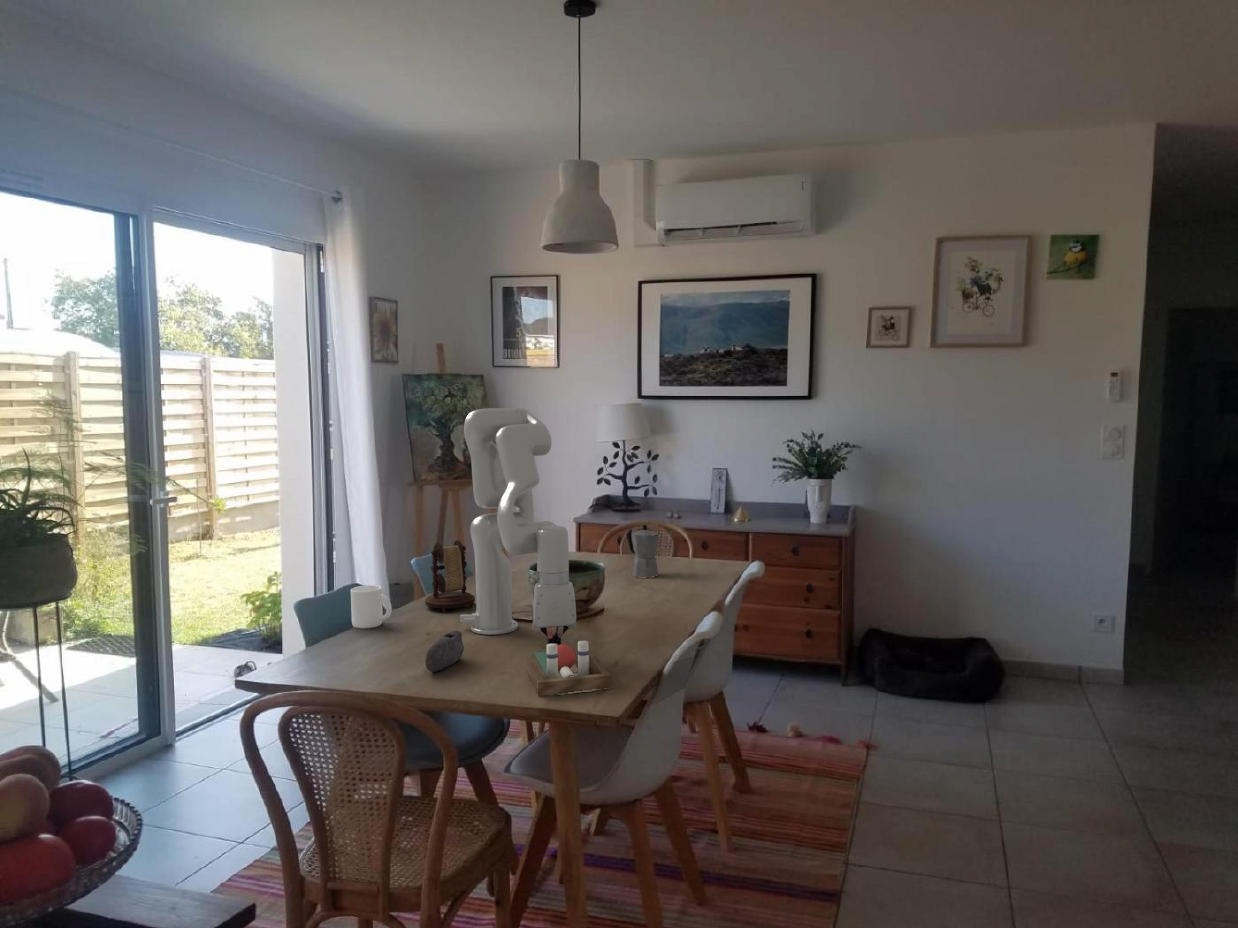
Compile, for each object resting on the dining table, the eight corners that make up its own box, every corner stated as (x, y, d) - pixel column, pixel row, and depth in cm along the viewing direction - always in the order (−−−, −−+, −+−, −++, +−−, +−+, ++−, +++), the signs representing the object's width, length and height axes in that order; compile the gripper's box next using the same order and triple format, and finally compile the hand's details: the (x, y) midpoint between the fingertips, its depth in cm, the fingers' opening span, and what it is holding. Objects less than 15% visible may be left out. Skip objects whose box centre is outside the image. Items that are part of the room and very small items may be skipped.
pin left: (547, 684, 182) (546, 646, 181) (547, 680, 184) (546, 643, 184) (558, 684, 182) (557, 646, 181) (558, 680, 185) (557, 643, 184)
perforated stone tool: (436, 677, 188) (435, 647, 187) (416, 675, 189) (415, 645, 189) (469, 657, 202) (469, 629, 201) (450, 655, 203) (450, 628, 203)
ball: (547, 641, 191) (544, 660, 194) (556, 658, 186) (553, 678, 189) (571, 636, 193) (568, 656, 196) (581, 654, 189) (577, 673, 192)
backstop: (538, 696, 175) (537, 682, 175) (527, 675, 188) (527, 662, 188) (611, 688, 179) (611, 675, 179) (596, 668, 192) (596, 655, 192)
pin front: (559, 676, 187) (568, 689, 178) (560, 666, 186) (569, 678, 178) (570, 676, 187) (579, 689, 179) (571, 666, 187) (580, 678, 179)
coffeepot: (668, 576, 289) (668, 525, 287) (649, 580, 282) (649, 528, 281) (636, 570, 300) (636, 520, 298) (618, 574, 293) (617, 523, 292)
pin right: (578, 681, 184) (577, 644, 183) (578, 677, 186) (577, 640, 185) (589, 681, 184) (588, 643, 183) (588, 677, 186) (588, 640, 186)
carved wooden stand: (440, 615, 240) (438, 547, 238) (416, 606, 251) (414, 541, 250) (484, 606, 250) (482, 541, 248) (459, 598, 261) (457, 535, 259)
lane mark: (534, 653, 204) (534, 652, 204) (566, 650, 206) (566, 649, 206) (557, 695, 175) (557, 694, 175) (594, 691, 177) (594, 690, 177)
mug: (400, 623, 233) (398, 586, 232) (382, 631, 225) (381, 593, 224) (364, 619, 237) (363, 584, 236) (345, 627, 229) (344, 590, 228)
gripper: (524, 583, 193) (526, 660, 194) (587, 578, 197) (588, 654, 198) (519, 576, 200) (521, 651, 201) (580, 572, 204) (581, 645, 205)
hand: (554, 652), depth 200 cm, fingers closed
